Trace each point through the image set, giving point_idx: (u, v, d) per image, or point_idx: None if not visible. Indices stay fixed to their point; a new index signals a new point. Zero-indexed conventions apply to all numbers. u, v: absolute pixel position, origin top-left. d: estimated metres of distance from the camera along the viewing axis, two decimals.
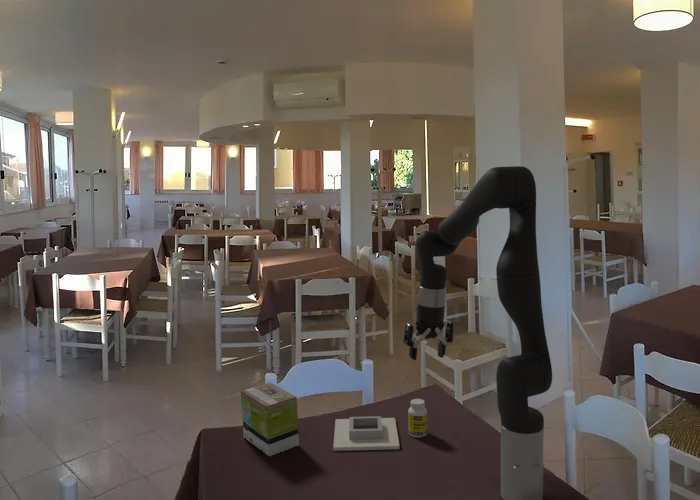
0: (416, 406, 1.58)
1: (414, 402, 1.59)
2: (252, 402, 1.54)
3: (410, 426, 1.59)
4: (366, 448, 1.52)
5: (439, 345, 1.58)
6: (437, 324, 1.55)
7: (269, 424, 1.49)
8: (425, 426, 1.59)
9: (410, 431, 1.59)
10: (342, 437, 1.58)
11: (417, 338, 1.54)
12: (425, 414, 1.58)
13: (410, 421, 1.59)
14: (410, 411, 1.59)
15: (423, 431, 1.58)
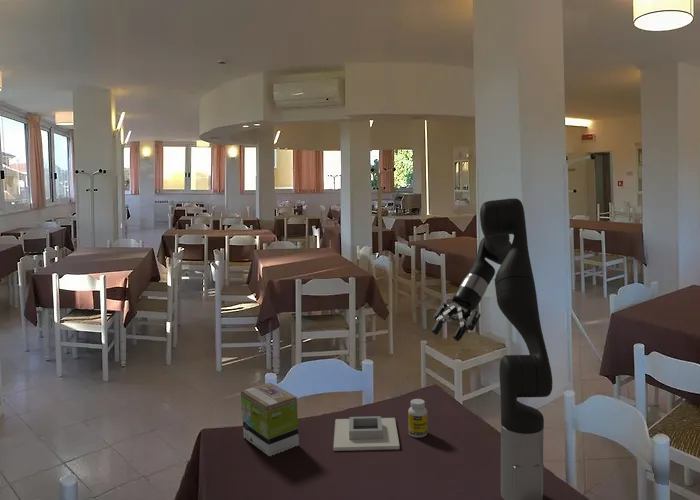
0: (416, 406, 1.58)
1: (414, 402, 1.59)
2: (252, 402, 1.54)
3: (410, 426, 1.59)
4: (366, 448, 1.52)
5: None
6: (463, 307, 1.66)
7: (269, 424, 1.49)
8: (425, 426, 1.59)
9: (410, 431, 1.59)
10: (342, 437, 1.58)
11: None
12: (425, 414, 1.58)
13: (410, 421, 1.59)
14: (410, 411, 1.59)
15: (423, 431, 1.58)
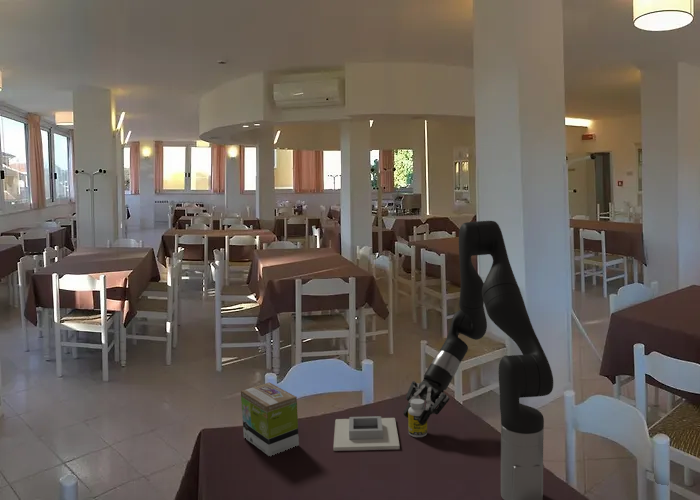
0: (416, 406, 1.58)
1: (414, 402, 1.59)
2: (252, 402, 1.54)
3: (410, 426, 1.59)
4: (366, 448, 1.52)
5: None
6: (434, 387, 1.61)
7: (269, 424, 1.49)
8: (425, 426, 1.59)
9: (410, 431, 1.59)
10: (342, 437, 1.58)
11: None
12: None
13: (410, 421, 1.59)
14: (410, 411, 1.59)
15: (423, 431, 1.58)
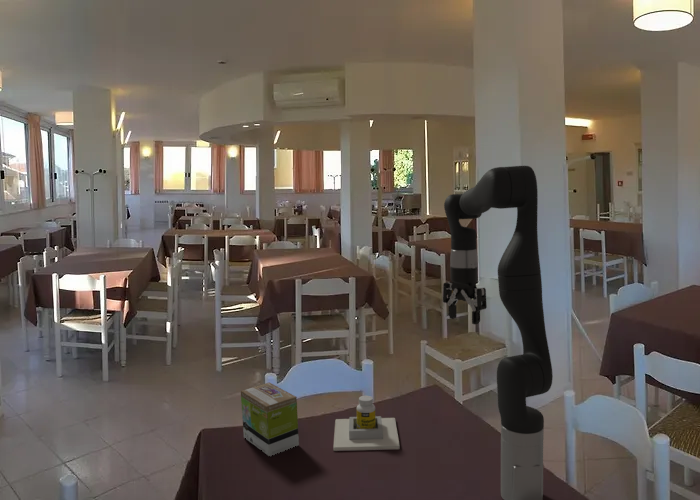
0: (364, 403, 1.58)
1: (362, 399, 1.59)
2: (252, 402, 1.54)
3: (358, 423, 1.59)
4: (366, 448, 1.52)
5: None
6: (466, 287, 1.56)
7: (269, 424, 1.49)
8: (373, 423, 1.59)
9: (358, 428, 1.60)
10: (342, 437, 1.58)
11: None
12: (373, 411, 1.59)
13: (358, 418, 1.59)
14: (358, 408, 1.59)
15: (371, 428, 1.59)
